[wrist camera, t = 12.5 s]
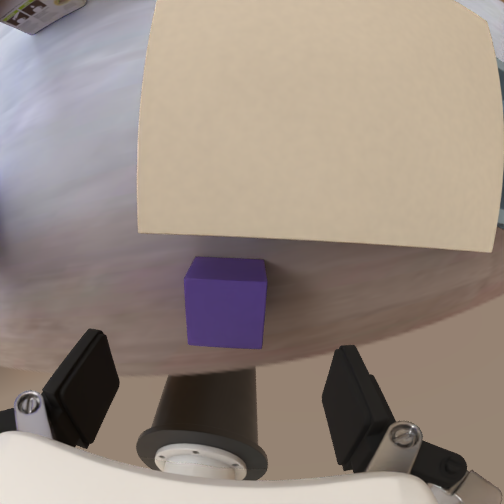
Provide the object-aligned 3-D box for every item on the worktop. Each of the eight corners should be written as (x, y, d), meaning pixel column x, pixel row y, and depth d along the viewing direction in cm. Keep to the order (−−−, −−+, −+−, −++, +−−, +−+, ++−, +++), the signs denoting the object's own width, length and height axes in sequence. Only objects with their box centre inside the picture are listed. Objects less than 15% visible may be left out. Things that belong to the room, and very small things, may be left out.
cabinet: (420, 52, 13) (487, 21, 6) (417, 219, 17) (491, 253, 10) (198, 17, 13) (171, -52, 6) (184, 203, 17) (137, 233, 9)
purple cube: (260, 318, 19) (261, 349, 16) (197, 315, 19) (187, 345, 16) (264, 259, 18) (267, 281, 15) (195, 256, 18) (183, 277, 14)
